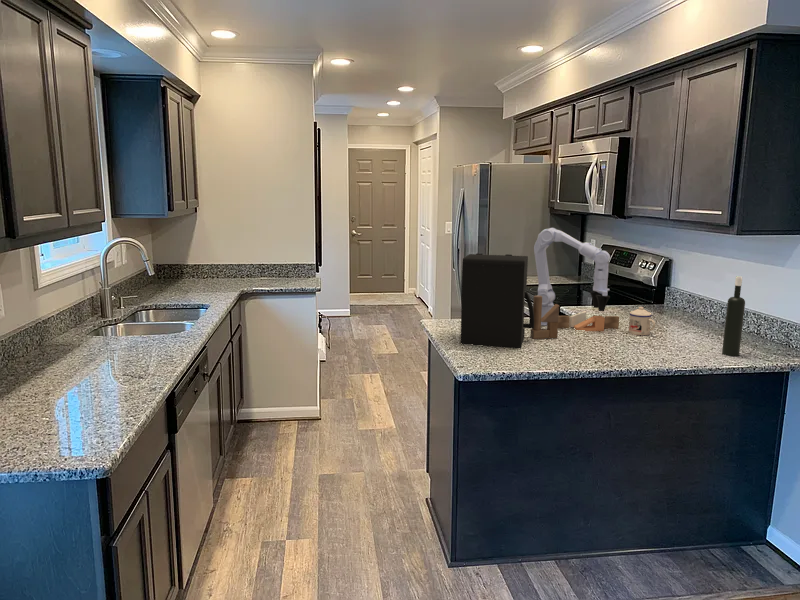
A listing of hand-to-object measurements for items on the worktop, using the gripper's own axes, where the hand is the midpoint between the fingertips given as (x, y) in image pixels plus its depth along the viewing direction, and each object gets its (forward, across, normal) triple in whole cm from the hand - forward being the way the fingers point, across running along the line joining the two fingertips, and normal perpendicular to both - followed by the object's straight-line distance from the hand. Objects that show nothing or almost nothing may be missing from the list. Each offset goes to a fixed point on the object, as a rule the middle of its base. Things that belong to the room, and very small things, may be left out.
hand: (598, 309), depth 265 cm
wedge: (+9, 0, +4) cm, 10 cm away
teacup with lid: (+10, -7, -17) cm, 21 cm away
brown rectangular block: (+9, +3, +4) cm, 11 cm away
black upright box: (+10, -21, +47) cm, 52 cm away
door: (+9, +9, +6) cm, 14 cm away
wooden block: (+10, -15, +27) cm, 32 cm away
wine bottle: (+10, -38, -39) cm, 55 cm away
